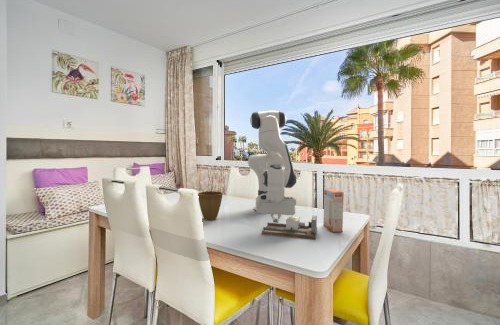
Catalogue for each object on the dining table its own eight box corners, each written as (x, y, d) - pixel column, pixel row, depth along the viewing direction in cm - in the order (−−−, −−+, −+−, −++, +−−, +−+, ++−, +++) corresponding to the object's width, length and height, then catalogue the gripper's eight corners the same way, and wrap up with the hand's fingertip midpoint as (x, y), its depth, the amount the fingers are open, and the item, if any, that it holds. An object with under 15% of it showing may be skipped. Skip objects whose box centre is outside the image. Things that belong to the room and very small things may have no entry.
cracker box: (343, 232, 141) (344, 192, 140) (331, 232, 140) (332, 192, 139) (333, 224, 155) (334, 188, 153) (323, 224, 154) (323, 188, 153)
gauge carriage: (288, 225, 144) (288, 215, 144) (305, 227, 142) (305, 216, 141) (284, 231, 135) (285, 220, 134) (303, 233, 132) (303, 221, 132)
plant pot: (216, 223, 157) (216, 195, 156) (193, 220, 162) (193, 194, 161) (226, 217, 171) (226, 191, 170) (205, 215, 176) (205, 190, 175)
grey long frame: (267, 224, 149) (267, 211, 149) (316, 228, 142) (316, 215, 141) (263, 229, 139) (263, 216, 139) (315, 234, 132) (315, 220, 132)
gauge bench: (268, 226, 151) (268, 222, 151) (316, 230, 144) (316, 227, 144) (262, 234, 137) (262, 230, 137) (315, 239, 130) (315, 235, 130)
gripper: (296, 196, 142) (296, 222, 143) (258, 194, 148) (258, 219, 149) (295, 198, 136) (295, 225, 137) (255, 196, 142) (255, 222, 142)
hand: (275, 222), depth 143 cm, fingers closed
